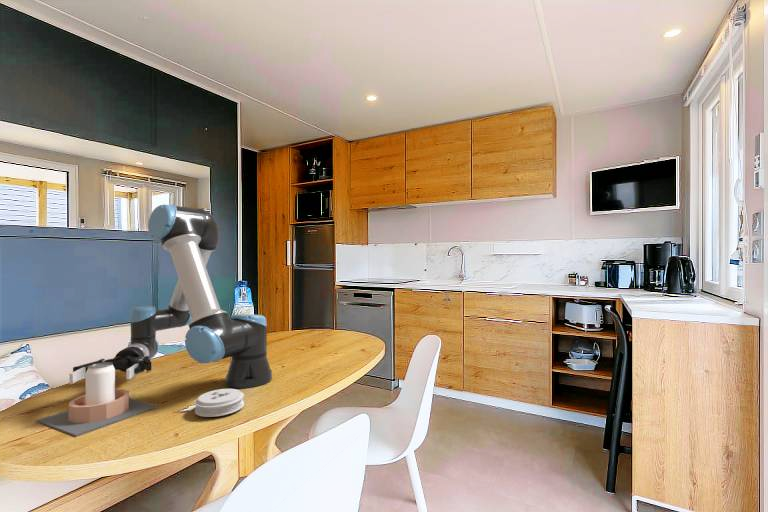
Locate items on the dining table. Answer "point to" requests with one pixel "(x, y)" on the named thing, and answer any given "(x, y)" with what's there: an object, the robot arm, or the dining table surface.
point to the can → (100, 383)
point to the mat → (77, 429)
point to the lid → (219, 402)
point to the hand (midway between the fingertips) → (99, 376)
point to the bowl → (97, 408)
